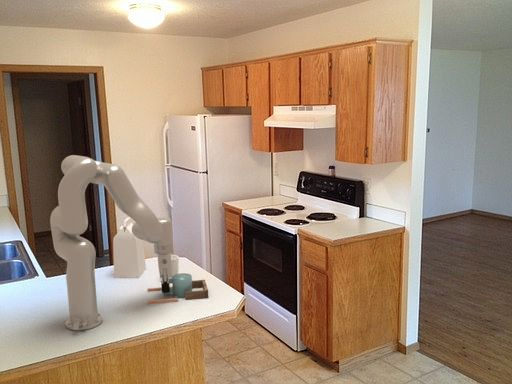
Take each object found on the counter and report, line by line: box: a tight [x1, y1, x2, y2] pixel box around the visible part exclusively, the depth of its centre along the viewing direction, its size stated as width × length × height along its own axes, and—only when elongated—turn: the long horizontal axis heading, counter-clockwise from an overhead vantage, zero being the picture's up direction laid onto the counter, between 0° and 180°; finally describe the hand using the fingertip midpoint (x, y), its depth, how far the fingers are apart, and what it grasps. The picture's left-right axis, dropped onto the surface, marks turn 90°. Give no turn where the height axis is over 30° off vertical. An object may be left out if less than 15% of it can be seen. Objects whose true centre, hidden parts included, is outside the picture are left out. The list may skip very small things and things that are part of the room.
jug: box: [162, 272, 193, 299], centre depth 192 cm, size 8×12×8 cm
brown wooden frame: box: [184, 279, 209, 301], centre depth 194 cm, size 12×9×3 cm
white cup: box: [169, 254, 180, 279], centre depth 209 cm, size 8×8×10 cm
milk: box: [112, 217, 147, 279], centre depth 214 cm, size 12×12×26 cm
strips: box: [146, 285, 179, 305], centre depth 191 cm, size 14×12×1 cm
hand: (165, 290), depth 191 cm, fingers closed on jug
